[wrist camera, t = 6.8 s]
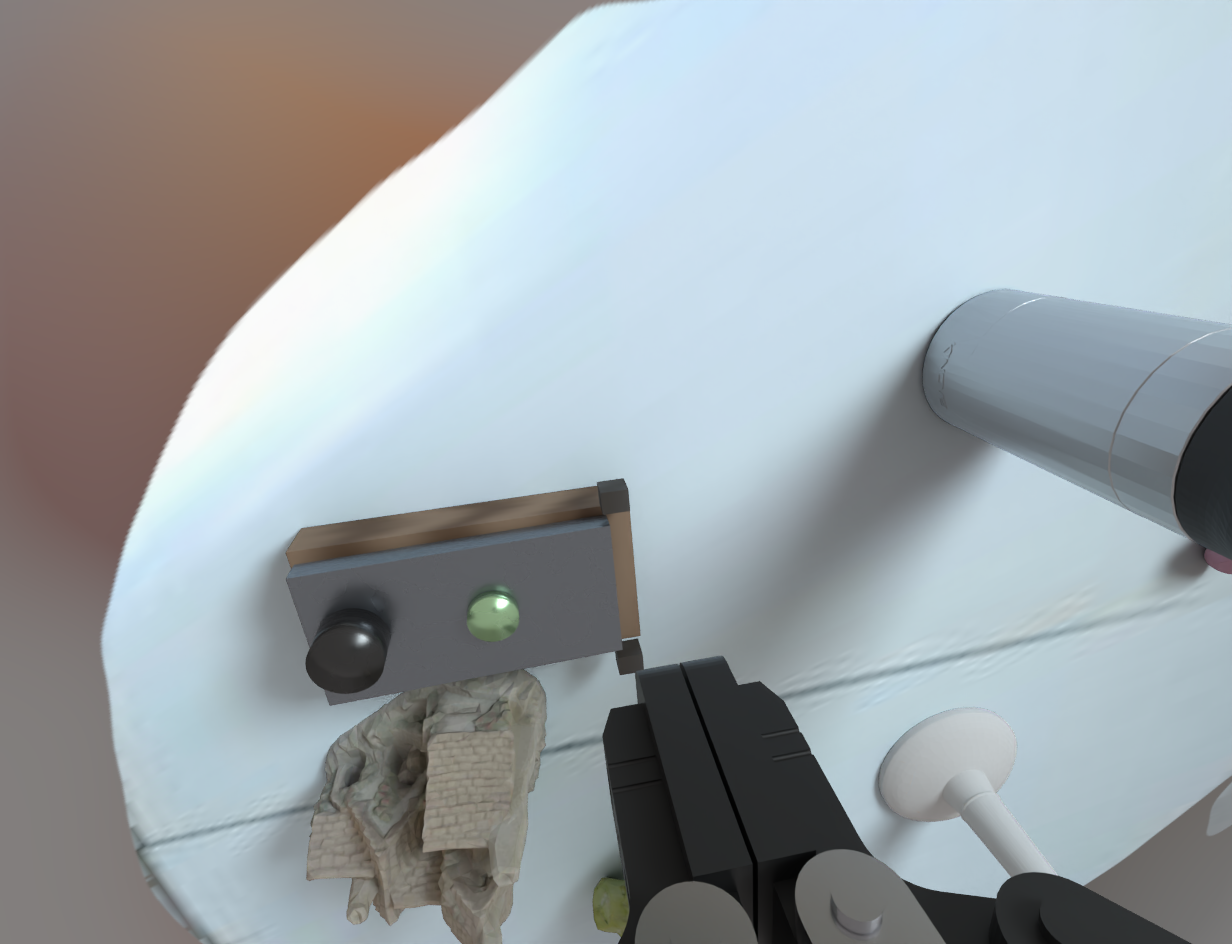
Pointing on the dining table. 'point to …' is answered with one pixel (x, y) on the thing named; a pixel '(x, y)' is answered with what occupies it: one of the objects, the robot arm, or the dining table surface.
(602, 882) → the vegetable
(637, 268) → the dining table surface
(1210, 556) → the pink shoe
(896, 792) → the candlestick
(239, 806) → the dining table surface
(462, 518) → the brown boxy piece
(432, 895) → the miniature castle
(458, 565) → the plate
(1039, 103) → the dining table surface
